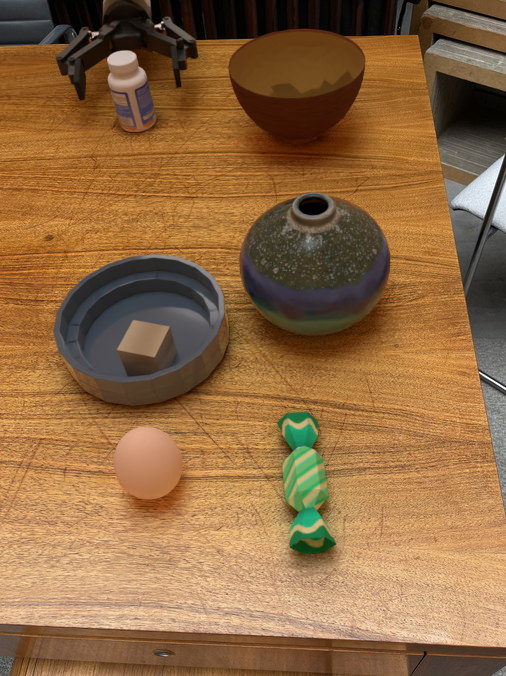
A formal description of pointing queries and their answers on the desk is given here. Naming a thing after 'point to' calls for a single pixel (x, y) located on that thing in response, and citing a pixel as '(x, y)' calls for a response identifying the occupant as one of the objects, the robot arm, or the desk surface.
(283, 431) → the candy
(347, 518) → the desk surface
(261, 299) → the vase
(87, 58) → the robot arm
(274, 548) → the desk surface
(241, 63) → the bowl
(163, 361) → the block
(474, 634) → the desk surface
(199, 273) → the bowl
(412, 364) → the desk surface
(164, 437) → the egg
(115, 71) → the pill bottle
